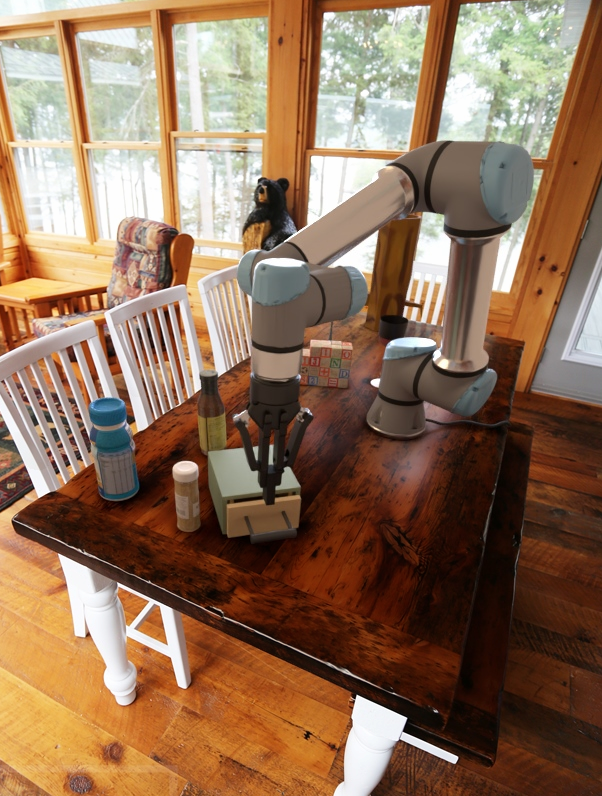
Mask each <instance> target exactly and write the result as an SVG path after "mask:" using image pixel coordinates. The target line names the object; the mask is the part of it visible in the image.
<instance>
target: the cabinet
mask: <svg viewBox="0 0 602 796" xmlns="http://www.w3.org/2000/svg"><path fill="white" fill-rule="evenodd" d="M253 450H254V454H255V458H256V460H258V445H257V446H253ZM270 464H272V465H273V444H270V448H269V465H270ZM284 470H285V472H284V473H283V474H282V481H281V485H280V486H276V492H275V494H280V493H288V492H293V493H292V496H295V495H299V496H300V497H301V491H302V490H301V489H302V487H301V485H300V483H299V481H298V479H297V478H296V476H295V473H294V472H293V470H292V467H285V468H284ZM207 473H208V475H207V477H208V489H209V492H210V496H211V499H212V502H213V506H214V508H215V512H216V516H217V519H218V523H219V526H220V530H221V533H222V535H227V500H233V499H241V498H249V497H257V496H262V492H263V488H260V485H259V483H258V471H251V469H250V467H249V465H248V462H247V459H246V455H245V451H244V447H240V448H238V447H237V448H229V449H226V450H219V451H209V452H208V456H207Z"/></svg>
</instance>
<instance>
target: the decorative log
mask: <svg viewBox="0 0 602 796" xmlns="http://www.w3.org/2000/svg"><path fill="white" fill-rule="evenodd" d="M421 224H422V215H417V214H413V213H412V214H409V215H408V216H407V217H405V218H404V219H401V220H397V221H395V220H392V221H390V222H389V223H387V224H386V225H385V226H383V227H382V228H381V229H379V230H378V231H377V239H376V244H375V245H376V246H375V253H374V260H373V266H372V273H371V282H370V289H369V290H368V294H367V301H366V303H365V305H364V307H367V311H366V317H365V322H364V323H365V324H364V327H365V328H367V329H369V330H372V331H373V332H379V323H380V317H382V316H384V315H398V316H402V317H404V313H405V307H410V308H415V309H416V308H418V309H419V311H420V312H419V313H420V318H422V317H423V308H424V305H423V304H421V303H418V302H414V301H411V300H408V299H407V298H408V297H407V296H408V291H409V287H410V283H411V280H412V276H413V269H414V263H415V262H414V260H415V254H416V251H417V246H418V242H419V239H420V233H421Z"/></svg>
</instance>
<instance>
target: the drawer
mask: <svg viewBox="0 0 602 796" xmlns="http://www.w3.org/2000/svg"><path fill="white" fill-rule="evenodd" d="M292 493H293V492H288V493H280V494H275V505H268V506H266V504H265V501H264V499H263V497H262V496H257V497H249V498H241V499H233V500H227V534H226V535H227V538H228V539H229V538H237V537H243V536H249V540H250V544H251V545H255V544H260V543H267V542H274V541H281V540H286V539H287V540H288V539H293V538H297V537H298V531H297V529H299V524H300V514H301V503H302V498H301V495H300V496H299V495H295V496H292Z"/></svg>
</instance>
